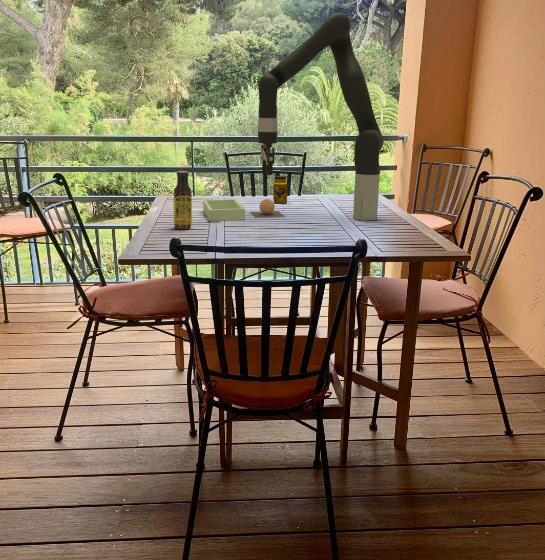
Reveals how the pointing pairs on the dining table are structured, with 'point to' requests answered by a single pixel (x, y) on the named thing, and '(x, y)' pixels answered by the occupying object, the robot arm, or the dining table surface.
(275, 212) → the mat
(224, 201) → the tray
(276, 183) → the condiment
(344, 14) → the robot arm
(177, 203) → the sauce bottle
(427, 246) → the dining table surface
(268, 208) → the ball
